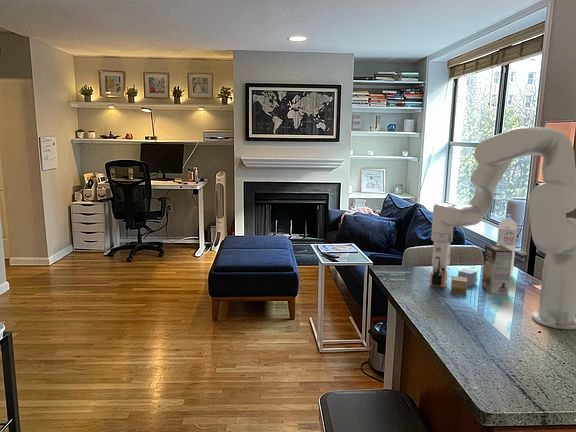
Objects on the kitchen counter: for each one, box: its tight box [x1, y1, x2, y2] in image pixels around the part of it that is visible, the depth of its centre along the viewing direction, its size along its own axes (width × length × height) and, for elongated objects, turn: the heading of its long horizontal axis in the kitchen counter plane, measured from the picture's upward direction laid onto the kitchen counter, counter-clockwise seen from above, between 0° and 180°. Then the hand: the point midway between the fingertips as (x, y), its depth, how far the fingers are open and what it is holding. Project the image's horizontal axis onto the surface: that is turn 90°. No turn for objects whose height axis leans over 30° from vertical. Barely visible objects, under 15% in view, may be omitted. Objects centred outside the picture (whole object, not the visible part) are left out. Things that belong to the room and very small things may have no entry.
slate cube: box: [457, 268, 478, 287], centre depth 170 cm, size 5×5×5 cm
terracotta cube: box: [429, 270, 448, 288], centre depth 168 cm, size 5×5×5 cm
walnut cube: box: [450, 275, 468, 296], centre depth 160 cm, size 5×5×5 cm
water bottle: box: [496, 213, 518, 277], centre depth 180 cm, size 7×7×25 cm
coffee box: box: [481, 244, 513, 295], centre depth 161 cm, size 9×6×16 cm
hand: (438, 282), depth 168 cm, fingers open, 7 cm apart
